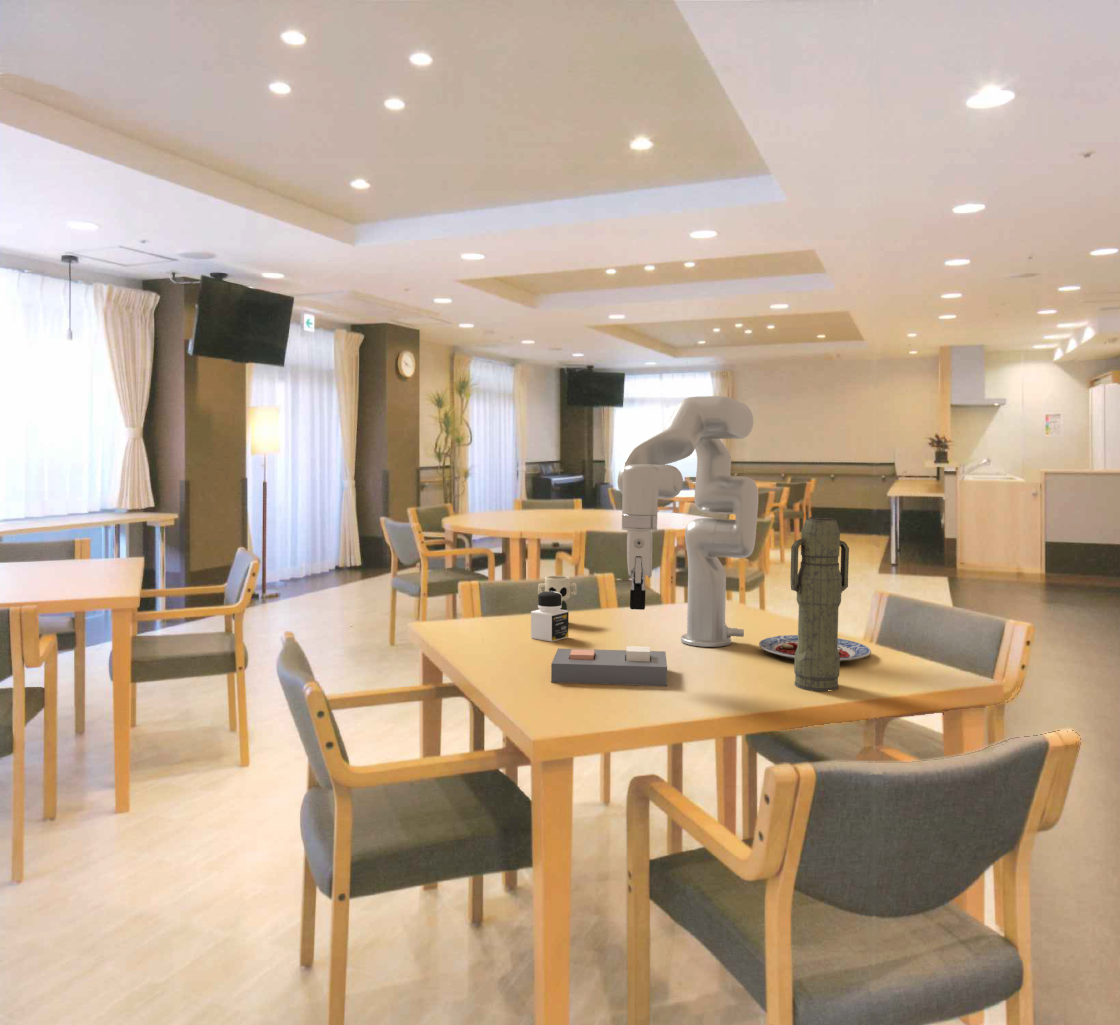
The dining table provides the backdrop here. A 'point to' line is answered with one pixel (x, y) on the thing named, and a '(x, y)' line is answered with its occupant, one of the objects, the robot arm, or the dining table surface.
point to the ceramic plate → (789, 644)
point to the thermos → (818, 602)
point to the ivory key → (638, 653)
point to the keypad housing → (609, 668)
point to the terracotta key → (582, 654)
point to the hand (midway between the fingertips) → (637, 608)
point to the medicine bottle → (549, 618)
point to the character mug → (559, 587)
